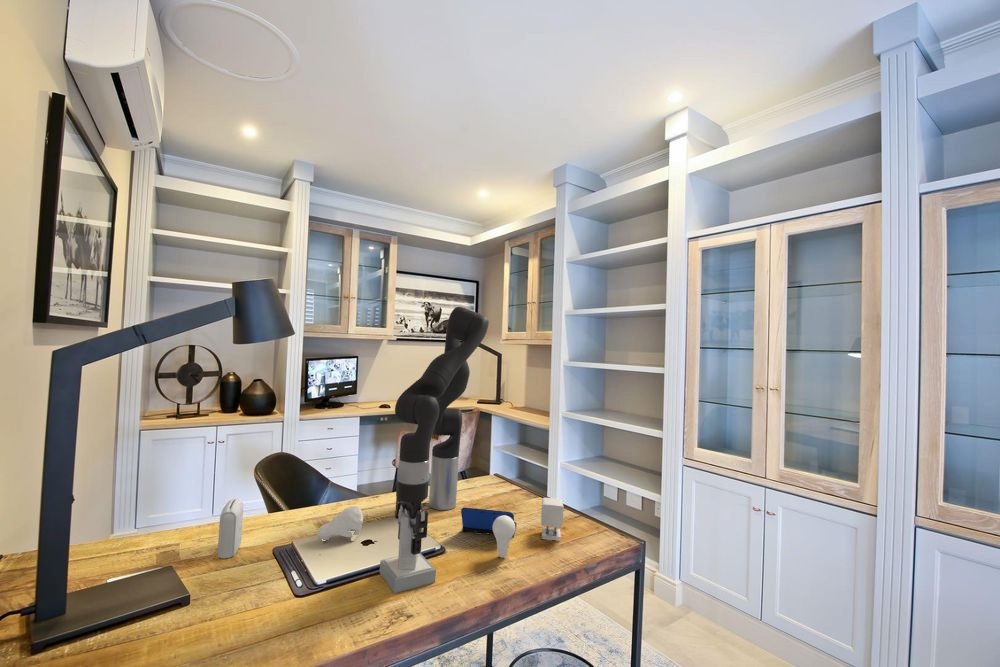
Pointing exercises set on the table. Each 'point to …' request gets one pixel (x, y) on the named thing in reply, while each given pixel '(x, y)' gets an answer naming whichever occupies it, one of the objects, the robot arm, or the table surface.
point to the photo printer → (230, 528)
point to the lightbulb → (503, 533)
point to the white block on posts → (552, 518)
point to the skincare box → (406, 545)
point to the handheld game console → (481, 519)
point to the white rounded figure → (343, 524)
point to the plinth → (407, 574)
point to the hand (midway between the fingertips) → (408, 546)
